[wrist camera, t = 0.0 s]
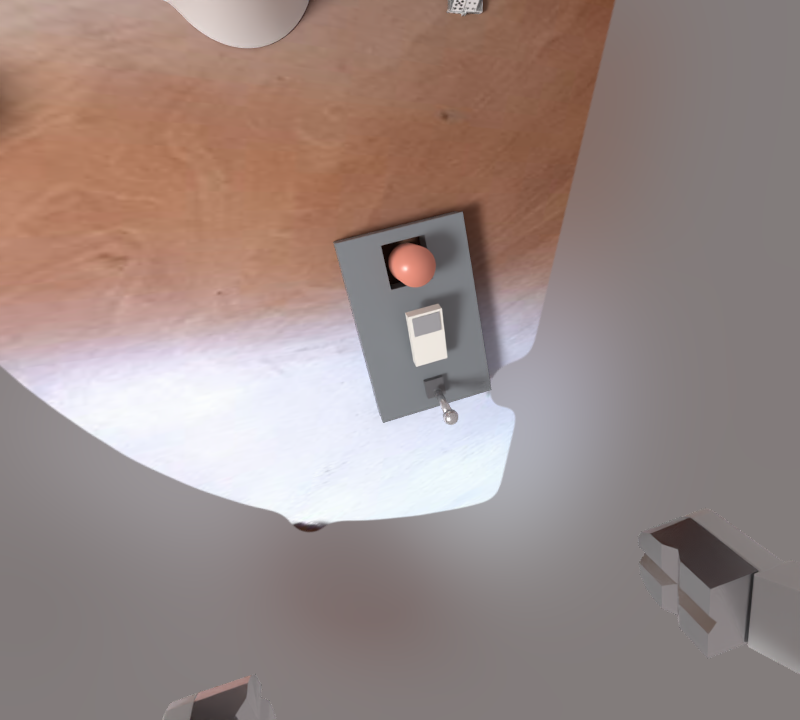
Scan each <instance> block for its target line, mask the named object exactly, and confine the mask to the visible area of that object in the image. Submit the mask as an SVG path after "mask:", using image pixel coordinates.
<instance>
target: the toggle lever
mask: <svg viewBox="0 0 800 720" xmlns="http://www.w3.org/2000/svg"><path fill="white" fill-rule="evenodd" d="M434 394H435V396H436V398H437V400H438V402H439V404H440V406H441V408H442V410H443V412H444V414H443V420H444V422H445V423H446V424H448V425H453V424H455V423H456V422H457V421H458V414H457V412H456V411H455V410H452V409H451V408H450V406H449V404H448V402H447V400H446V398H445V396H444V394H443V392H442V390H441V389H440V388H436V389H435V390H434Z"/></svg>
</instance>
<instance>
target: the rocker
mask: <svg viewBox="0 0 800 720" xmlns="http://www.w3.org/2000/svg"><path fill="white" fill-rule="evenodd" d="M405 315H406V321H407V327H408V332H409V338H410V344H411V350H412V356H413V362H414V363H415V365H416V367H418V366H421V365H425V364H428V363H432V362H435V361H438V360H442V359H445V358H447V349H446V340H445V332H444V323H443V314H442V308H441V306H440V305H439V304H435V305H431V306H427V307H424V308H420V309H417V310H413V311H409V312H406V313H405Z"/></svg>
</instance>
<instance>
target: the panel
mask: <svg viewBox="0 0 800 720" xmlns="http://www.w3.org/2000/svg"><path fill="white" fill-rule="evenodd" d="M417 236H419V241H420V246H422V247H424V248H426V249H428V250H429V251H430V252H431V253H432V254H433V256H434V258H435V262H436V270H435V273H434V276H433V278H432V279H431V280H430V281H429V282H428V283H427V284H425V285H424V286H421V287H409V286H407V285H405V284H404V283H402V282H399V283H396V284H392V285H390V283H389V279H388V275H387V270H386V266H385V262H384V257H383V253H382V249H381V245H385V244H389V243H393V242H397V241H401V240H405V239H409V238H413V237H417ZM333 243H334V247H335V250H336V254H337V258H338V261H339V265H340V269H341V273H342V276H343V280H344V284H345V288H346V291H347V295H348V299H349V302H350V306H351V310H352V314H353V317H354V321H355V325H356V329H357V332H358V336H359V340H360V343H361V347H362V351H363V355H364V358H365V362H366V366H367V369H368V373H369V377H370V381H371V384H372V388H373V392H374V396H375V399H376V403H377V407H378V410H379V414H380V416H381V419H382V421H383V423H385V422H388V421H391V420H394V419H398V418H401V417H404V416H407V415H411V414H414V413H417V412H421V411H424V410H427V409H430V408H434V407H437V406H440V404H439V402H438V400H437V398H436V396H435V394H434V390H435V389H436V388H440V389H441V390H442V392H443V394H444V396H445V398H446V400H447V402H448V403H450V402H453V401H456V400H460V399H463V398H466V397H470V396H473V395H476V394H479V393H483V392H486V391H489V390H491V384H490V378H489V372H488V365H487V359H486V353H485V347H484V341H483V335H482V328H481V322H480V316H479V310H478V304H477V297H476V291H475V285H474V279H473V273H472V266H471V260H470V254H469V248H468V242H467V235H466V229H465V223H464V217H463V212H451V213H447V214H443V215H439V216H435V217H431V218H427V219H423V220H419V221H415V222H411V223H407V224H403V225H399V226H395V227H391V228H387V229H383V230H379V231H375V232H371V233H367V234H363V235H359V236H355V237H351V238H347V239H343V240H339V241H335V242H333ZM435 304H439V305H440V306H441V308H442V314H443V323H444V332H445V340H446V349H447V358H445V359H442V360H438V361H435V362H432V363H428V364H425V365H421V366H418V367H416V365H415V363H414V362H413V356H412V350H411V344H410V338H409V332H408V327H407V321H406V315H405V313H406V312H409V311H413V310H417V309H420V308H424V307H427V306H431V305H435Z"/></svg>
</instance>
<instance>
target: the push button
mask: <svg viewBox="0 0 800 720" xmlns="http://www.w3.org/2000/svg"><path fill="white" fill-rule="evenodd" d="M388 266H389V270H390V272H391V273H392V275H393V276H394V277H395V278H397V279H398V280H400V281H401V282H402V283H404V284H405V285H407V286H409V287H421V286H424V285H425V284H427V283H428V282H429V281H430V280H431V279H432V278H433V276H434V273H435V270H436V262H435V258H434V256H433V254H432V253H431V252H430V251H429V250H428V249H426V248H424V247H422V246H419V245H415V244H412V243H402V244H399V245H397V246H396V247H395V248H394V249H393V250H392V251H391V253H390V255H389V259H388Z"/></svg>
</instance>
